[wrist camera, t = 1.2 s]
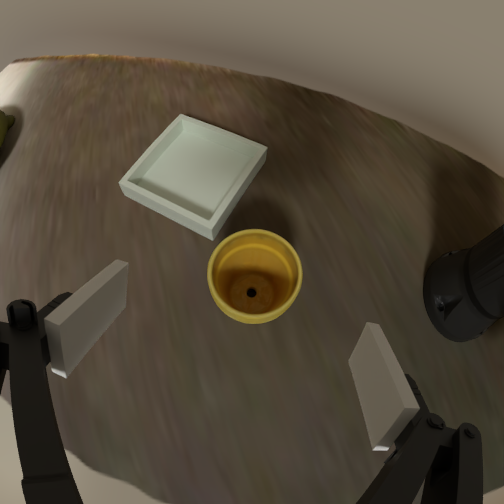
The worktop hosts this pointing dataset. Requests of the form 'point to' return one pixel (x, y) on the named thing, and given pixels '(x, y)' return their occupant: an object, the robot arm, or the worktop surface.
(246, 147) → the tray
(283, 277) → the plant pot
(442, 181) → the worktop surface
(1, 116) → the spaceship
